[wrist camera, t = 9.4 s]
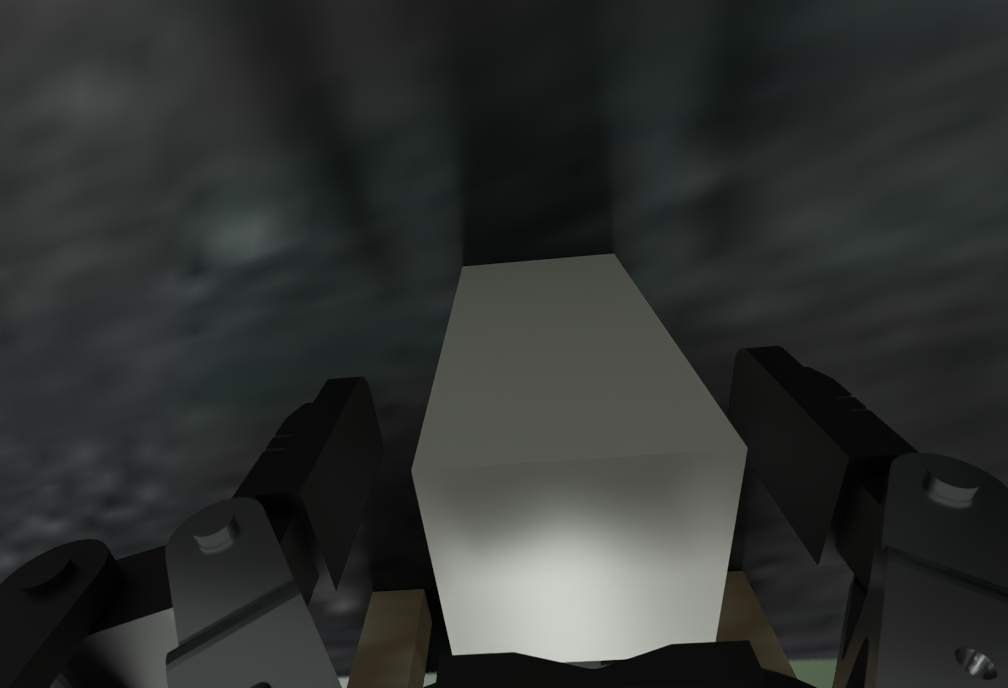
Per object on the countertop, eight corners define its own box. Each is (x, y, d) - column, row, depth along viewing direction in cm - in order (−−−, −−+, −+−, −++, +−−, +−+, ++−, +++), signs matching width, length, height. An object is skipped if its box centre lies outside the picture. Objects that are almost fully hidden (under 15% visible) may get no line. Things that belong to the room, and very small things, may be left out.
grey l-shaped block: (462, 266, 13) (410, 470, 6) (613, 253, 13) (747, 447, 6) (513, 654, 21) (518, 948, 14) (609, 649, 21) (664, 945, 13)
